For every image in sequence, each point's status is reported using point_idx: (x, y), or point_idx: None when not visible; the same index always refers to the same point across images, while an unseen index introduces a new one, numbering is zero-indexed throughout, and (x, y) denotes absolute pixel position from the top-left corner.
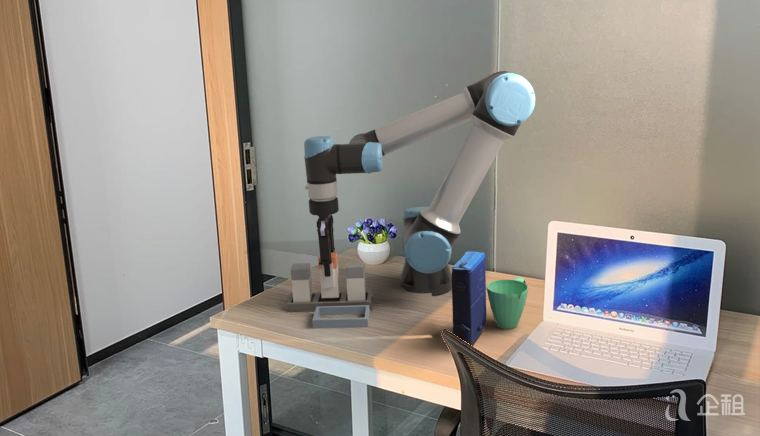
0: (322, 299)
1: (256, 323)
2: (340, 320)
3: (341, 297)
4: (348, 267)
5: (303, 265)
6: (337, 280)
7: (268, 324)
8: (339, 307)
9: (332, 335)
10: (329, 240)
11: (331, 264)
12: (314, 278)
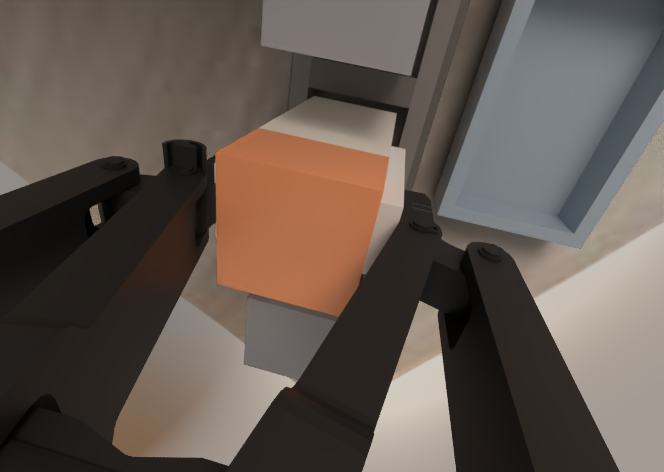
0: None
1: (407, 353)
2: (653, 131)
3: (363, 93)
4: (412, 47)
5: (280, 331)
6: (384, 131)
7: (427, 331)
8: (488, 118)
9: (640, 161)
10: (384, 400)
11: (401, 210)
12: (70, 163)
